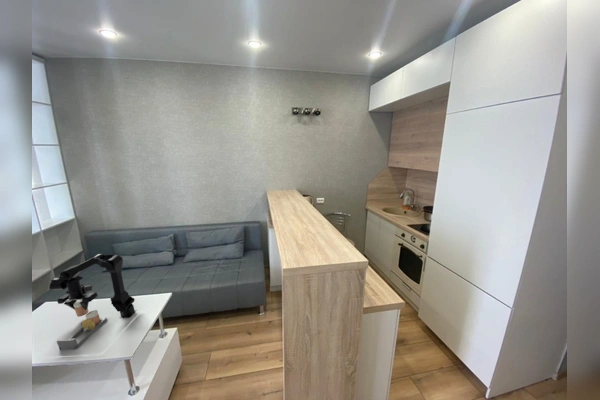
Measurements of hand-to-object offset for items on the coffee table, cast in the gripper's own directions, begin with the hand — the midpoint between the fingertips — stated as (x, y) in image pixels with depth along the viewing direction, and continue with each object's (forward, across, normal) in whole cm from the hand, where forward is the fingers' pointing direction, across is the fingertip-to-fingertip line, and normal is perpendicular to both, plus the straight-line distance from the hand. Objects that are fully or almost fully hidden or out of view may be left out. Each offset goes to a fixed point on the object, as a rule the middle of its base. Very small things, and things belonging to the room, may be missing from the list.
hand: (81, 309), depth 135 cm
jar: (+3, 0, 0) cm, 3 cm away
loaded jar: (+6, -11, +6) cm, 14 cm away
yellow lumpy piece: (+6, -11, +10) cm, 16 cm away
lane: (+7, -11, +12) cm, 18 cm away
